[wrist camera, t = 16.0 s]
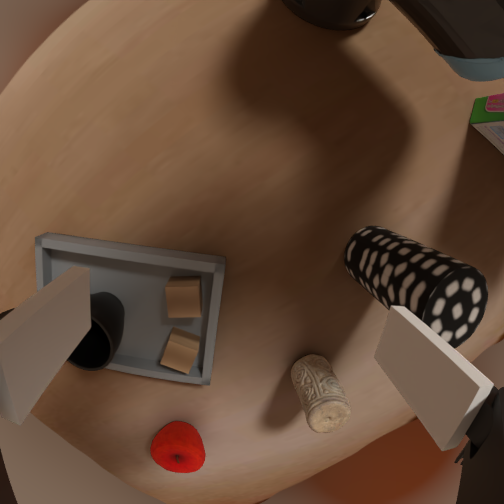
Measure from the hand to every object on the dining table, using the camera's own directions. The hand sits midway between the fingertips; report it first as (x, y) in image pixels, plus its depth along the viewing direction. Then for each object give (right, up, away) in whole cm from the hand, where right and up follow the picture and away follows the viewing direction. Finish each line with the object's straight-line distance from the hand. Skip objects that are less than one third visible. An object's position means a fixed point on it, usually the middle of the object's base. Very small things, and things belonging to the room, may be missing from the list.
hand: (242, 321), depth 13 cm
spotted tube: (+17, +2, +31) cm, 35 cm away
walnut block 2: (-9, -10, +31) cm, 34 cm away
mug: (-21, -4, +28) cm, 36 cm away
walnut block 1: (-8, -2, +29) cm, 30 cm away
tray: (-17, -5, +30) cm, 34 cm away
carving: (+9, -15, +34) cm, 39 cm away
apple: (-12, -28, +36) cm, 47 cm away
